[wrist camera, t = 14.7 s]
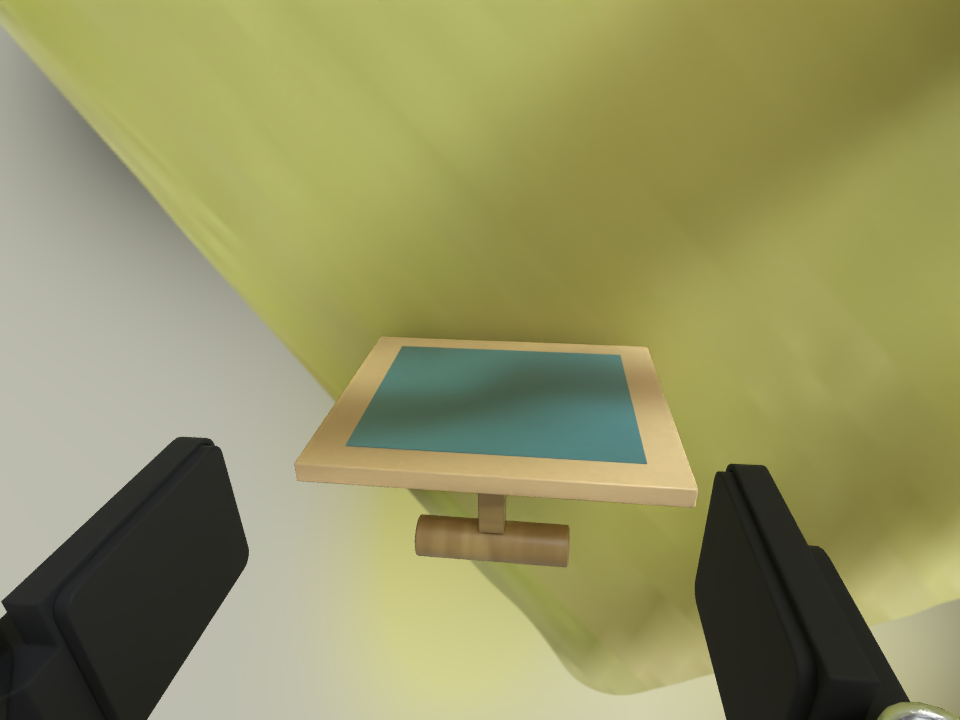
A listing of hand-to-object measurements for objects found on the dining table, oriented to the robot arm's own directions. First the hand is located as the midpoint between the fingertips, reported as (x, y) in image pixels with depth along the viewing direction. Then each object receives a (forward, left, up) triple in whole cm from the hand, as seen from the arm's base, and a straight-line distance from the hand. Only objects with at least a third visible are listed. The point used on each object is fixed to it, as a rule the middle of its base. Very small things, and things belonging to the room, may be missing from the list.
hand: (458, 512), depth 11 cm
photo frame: (+5, 0, -13) cm, 14 cm away
